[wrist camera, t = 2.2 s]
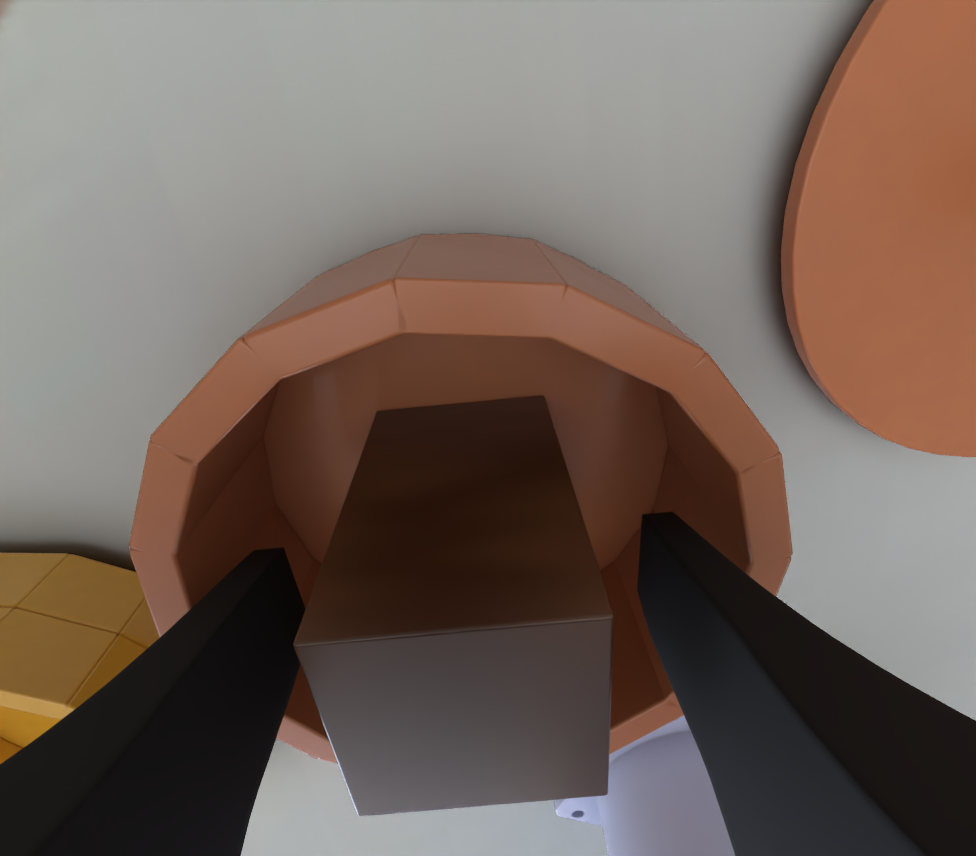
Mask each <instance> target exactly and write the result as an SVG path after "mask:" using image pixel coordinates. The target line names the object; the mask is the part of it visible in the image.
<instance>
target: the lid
mask: <svg viewBox="0 0 976 856" xmlns="http://www.w3.org/2000/svg"><path fill="white" fill-rule="evenodd" d="M781 274H782V292H783V298H784V304H785V310H786V316H787V322H788V325H789V328H790V331H791V334H792V337H793V340H794V343H795V346H796V349H797V352H798V354H799V356H800V358H801V360H802V361H803V363H804V365H805V367H806V369H807V371H808V373H809V374H810V376H811V378H812V379H813V381H814V382H815V383H816V384H817V386H818V387H819V388H820V389H821V391H822V392H823V393H824V394H825V396H826V397H827V398H828V399H829V400H830V401H831V402H832V403H833V404H834V405H835V406H837V407H838V408H839V409H840V410H841V411H842V412H844V413H845V414H846V415H847V416H848V417H849V418H851V419H852V420H854V421H855V422H857V423H858V424H860V425H861V426H863V427H865V428H866V429H868V430H870V431H872V432H873V433H875V434H877V435H878V436H880V437H882V438H884V439H886V440H889V441H892V442H894V443H897V444H899V445H902V446H904V447H907V448H911V449H915V450H920V451H924V452H929V453H933V454H938V455H950V456H962V457H976V0H874V1H873V2H872V3H871V5H870V6H869V8H868V9H867V11H866V12H865V14H864V15H863V17H862V19H861V21H860V22H859V24H858V26H857V28H856V29H855V31H854V33H853V35H852V36H851V38H850V40H849V42H848V43H847V45H846V47H845V49H844V50H843V52H842V54H841V56H840V57H839V59H838V61H837V63H836V64H835V66H834V69H833V71H832V73H831V75H830V77H829V80H828V82H827V84H826V86H825V88H824V91H823V93H822V95H821V97H820V99H819V102H818V104H817V106H816V108H815V110H814V113H813V115H812V117H811V120H810V123H809V126H808V129H807V132H806V135H805V138H804V141H803V144H802V147H801V150H800V153H799V156H798V159H797V161H796V164H795V169H794V173H793V178H792V182H791V187H790V191H789V195H788V200H787V204H786V209H785V217H784V227H783V236H782V246H781Z"/></svg>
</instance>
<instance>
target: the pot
mask: <svg viewBox="0 0 976 856" xmlns="http://www.w3.org/2000/svg"><path fill="white" fill-rule="evenodd" d="M533 396H544V397H545V399H546V403H547V406H548V409H549V412H550V415H551V418H552V422H553V425H554V428H555V431H556V434H557V437H558V440H559V444H560V447H561V450H562V453H563V456H564V459H565V462H566V466H567V469H568V472H569V475H570V478H571V481H572V485H573V488H574V491H575V494H576V497H577V500H578V503H579V507H580V510H581V513H582V516H583V519H584V522H585V525H586V529H587V532H588V535H589V538H590V541H591V544H592V548H593V551H594V554H595V557H596V560H597V563H598V566H599V570H600V573H601V576H602V579H603V582H604V585H605V588H606V592H607V595H608V598H609V601H610V604H611V607H612V611H613V614H614V637H613V665H612V692H611V720H610V748H609V755H610V754H612V753H613V752H615V751H617V750H619V749H621V748H623V747H625V746H627V745H629V744H630V743H632V742H634V741H636V740H638V739H640V738H642V737H644V736H646V735H647V734H649V733H651V732H653V731H655V730H657V729H659V728H661V727H662V726H664V725H666V724H668V723H670V722H672V721H674V720H676V719H678V718H679V717H681V716H683V715H684V714H683V712H682V709H681V707H680V705H679V702H678V700H677V698H676V695H675V693H674V691H673V688H672V686H671V684H670V681H669V679H668V677H667V674H666V672H665V670H664V667H663V665H662V663H661V660H660V658H659V655H658V653H657V651H656V648H655V646H654V644H653V641H652V639H651V636H650V632H649V629H648V626H647V623H646V619H645V616H644V613H643V609H642V605H641V602H640V598H639V595H638V591H637V584H638V568H639V553H640V537H641V522H642V514H651V513H662V512H674V513H675V514H676V515H677V516H679V517H680V518H681V519H682V520H683V521H684V522H686V523H687V524H688V525H689V526H690V527H691V528H693V529H694V530H695V531H696V532H697V533H698V534H699V535H701V536H702V537H703V538H704V539H705V540H706V541H708V542H709V543H710V544H711V545H712V546H713V547H715V548H716V549H717V550H718V551H719V552H721V553H722V554H723V555H724V556H725V557H726V558H728V559H729V560H730V561H731V562H732V563H734V564H735V565H736V566H737V567H739V568H740V569H741V570H742V571H744V572H745V573H746V574H747V575H749V576H750V577H751V578H752V579H754V580H755V581H756V582H757V583H759V584H760V585H761V586H762V587H764V588H765V589H766V590H768V591H769V592H770V593H772V594H773V595H774V596H776V595H777V593H778V590H779V588H780V585H781V583H782V581H783V578H784V576H785V573H786V571H787V568H788V566H789V563H790V561H791V555H792V553H793V552H792V543H791V534H790V525H789V516H788V507H787V498H786V489H785V480H784V471H783V462H782V454H781V453H780V452H779V449H778V446H777V444H776V443H775V442H774V440H773V439H772V438H771V436H770V435H769V434H768V432H767V431H766V430H765V428H764V427H763V426H762V425H761V423H760V422H759V421H758V419H757V418H756V417H755V415H754V414H753V413H752V411H751V410H750V409H749V407H748V406H747V405H746V403H745V402H744V401H743V399H742V398H741V397H740V395H739V394H738V393H737V391H736V390H735V389H734V387H733V386H732V385H731V383H730V382H729V381H728V379H727V378H726V377H725V375H724V374H723V373H722V371H721V370H720V369H719V367H718V366H717V365H716V363H715V362H714V361H713V359H712V358H711V357H710V355H709V354H708V353H707V352H705V351H704V350H703V349H702V348H701V347H700V346H699V345H697V344H696V343H695V342H694V341H693V340H691V339H690V338H689V337H688V336H687V335H685V334H684V333H683V332H682V331H680V330H679V329H678V328H677V327H676V326H674V325H673V324H672V323H671V322H669V321H668V320H667V319H666V318H665V317H663V316H662V315H661V314H660V313H659V312H657V311H656V310H655V309H654V308H652V307H651V306H650V305H649V304H648V303H646V302H645V301H644V300H643V299H641V298H640V297H639V296H638V295H637V294H635V293H634V292H633V291H632V290H631V289H629V288H628V287H627V286H626V285H624V284H622V283H620V282H618V281H616V280H614V279H612V278H610V277H608V276H606V275H604V274H602V273H600V272H598V271H596V270H595V269H593V268H591V267H590V266H588V265H586V264H584V263H583V262H581V261H579V260H578V259H576V258H573V257H571V256H569V255H566V254H564V253H561V252H559V251H556V250H554V249H552V248H550V247H548V246H546V245H544V244H542V243H540V242H538V241H536V240H532V239H530V238H513V237H505V236H496V235H487V234H478V233H468V234H439V235H433V234H421V235H420V236H414V237H412V238H409V239H407V240H404V241H401V242H398V243H395V244H392V245H389V246H386V247H382V248H379V249H376V250H373V251H371V252H369V253H367V254H365V255H362V256H360V257H358V258H356V259H354V260H352V261H350V262H348V263H346V264H344V265H341V266H339V267H336V268H334V269H331V270H329V271H326V272H324V273H322V274H320V275H319V276H317V277H315V278H314V279H313V280H311V281H310V282H309V283H308V284H306V285H305V286H304V287H303V288H301V289H300V290H299V291H298V292H296V293H295V294H294V295H293V296H291V297H290V298H289V299H288V300H286V301H285V302H284V303H282V304H281V305H280V306H279V307H277V308H276V309H275V310H274V311H272V312H271V313H270V314H269V315H267V316H266V317H265V318H264V319H262V320H261V321H260V322H259V323H257V324H256V325H255V326H253V327H252V328H251V329H250V330H248V331H247V332H246V333H245V334H243V335H242V336H241V337H240V338H238V339H237V340H236V341H235V343H234V344H233V345H232V346H231V347H230V348H229V349H228V350H227V351H226V353H225V354H224V355H223V356H222V357H221V358H220V359H219V360H218V361H217V362H216V364H215V365H214V366H213V367H212V368H211V369H210V370H209V371H208V372H207V374H206V375H205V376H204V377H203V378H202V379H201V380H200V381H199V382H198V384H197V385H196V386H195V387H194V388H193V389H192V390H191V391H190V392H189V393H188V395H187V396H186V397H185V398H184V399H183V400H182V401H181V402H180V403H179V405H178V406H177V407H176V408H175V409H174V410H173V411H172V412H171V413H170V415H169V416H168V417H167V418H166V419H165V420H164V421H163V422H162V423H161V424H160V426H159V427H158V428H157V429H156V430H155V431H154V432H153V433H152V434H151V437H150V439H151V440H150V441H149V444H148V450H147V455H146V460H145V465H144V470H143V475H142V480H141V485H140V490H139V496H138V501H137V506H136V511H135V516H134V521H133V526H132V531H131V537H130V542H129V546H130V549H129V553H130V556H131V559H132V562H133V565H134V567H135V570H136V573H137V576H138V579H139V581H140V584H141V587H142V590H143V593H144V596H145V598H146V601H147V604H148V607H149V610H150V612H151V615H152V618H153V621H154V624H155V626H156V629H157V632H158V635H159V638H160V637H161V636H162V635H163V634H164V633H166V632H167V631H168V630H169V629H170V628H171V627H172V626H173V625H174V624H175V623H176V622H177V621H178V620H179V619H181V618H182V617H183V616H184V615H185V614H186V613H187V612H188V611H189V610H190V609H191V608H192V607H193V606H194V605H195V604H197V603H198V602H199V601H200V600H201V599H202V598H203V597H204V596H205V595H206V594H207V593H208V592H209V591H210V590H211V589H212V588H213V587H215V586H216V585H217V584H218V583H219V582H220V581H221V580H222V579H223V578H224V577H225V576H226V575H227V574H228V573H229V572H230V571H231V570H232V569H233V568H235V567H236V566H237V565H238V564H239V563H240V562H241V561H242V560H243V559H244V558H245V557H247V556H248V555H249V554H250V553H251V552H252V551H254V550H261V549H271V548H282V547H284V549H285V552H286V555H287V558H288V561H289V564H290V566H291V569H292V572H293V575H294V578H295V581H296V583H297V586H298V589H299V592H300V595H301V598H302V601H303V603H304V606H305V609H306V607H307V604H308V601H309V598H310V596H311V593H312V590H313V587H314V584H315V582H316V579H317V576H318V573H319V570H320V568H321V565H322V562H323V559H324V557H325V554H326V551H327V548H328V545H329V543H330V540H331V537H332V534H333V532H334V529H335V526H336V523H337V520H338V518H339V515H340V512H341V509H342V506H343V504H344V501H345V498H346V495H347V493H348V490H349V487H350V484H351V481H352V479H353V476H354V473H355V470H356V467H357V465H358V462H359V459H360V456H361V454H362V451H363V448H364V445H365V442H366V440H367V437H368V434H369V431H370V428H371V426H372V423H373V420H374V417H375V415H376V412H377V411H384V410H394V409H405V408H416V407H426V406H437V405H448V404H458V403H469V402H480V401H490V400H501V399H512V398H522V397H533ZM276 738H277V739H278V740H280V741H282V742H284V743H286V744H288V745H290V746H292V747H294V748H296V749H298V750H300V751H302V752H304V753H306V754H307V755H309V756H311V757H313V758H315V759H318V758H320V759H321V760H324V761H328V762H333V763H337V764H338V762H337V760H336V757H335V754H334V752H333V749H332V747H331V744H330V741H329V739H328V736H327V733H326V731H325V728H324V726H323V723H322V720H321V718H320V715H319V713H318V710H317V707H316V705H315V702H314V699H313V697H312V694H311V692H310V689H309V686H308V684H307V681H306V678H305V676H304V673H303V671H302V668H301V665H300V668H299V671H298V674H297V678H296V681H295V684H294V687H293V690H292V693H291V696H290V699H289V702H288V705H287V708H286V711H285V714H284V716H283V719H282V722H281V725H280V728H279V731H278V734H277V737H276Z"/></svg>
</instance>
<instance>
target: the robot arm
mask: <svg viewBox="0 0 976 856" xmlns="http://www.w3.org/2000/svg"><path fill="white" fill-rule="evenodd" d="M637 591H638V595H639V598H640V602H641V605H642V609H643V613H644V616H645V619H646V623H647V626H648V629H649V632H650V636H651V639H652V641H653V644H654V646H655V648H656V651H657V653H658V655H659V658H660V660H661V663H662V665H663V667H664V670H665V672H666V674H667V677H668V679H669V681H670V684H671V686H672V688H673V691H674V693H675V695H676V698H677V700H678V702H679V705H680V707H681V709H682V712H683V714H684V715H683V716H681V717H679V718H678V719H676V720H674V721H672V722H670V723H668V724H666V725H664V726H662V727H661V728H659V729H657V730H655V731H653V732H651V733H649V734H647V735H646V736H644V737H642V738H640V739H638V740H636V741H634V742H632V743H630V744H629V745H627V746H625V747H623V748H621V749H619V750H617V751H615V752H613V753H612V754H610V755H609V776H608V794H607V795H605V796H593V797H581V798H570V799H558V800H555V802H554V804H555V811H556V814H557V815H558V816H560V817H563V818H568V819H573V820H577V821H582V822H586V823H591V824H595V825H600V826H602V827H603V832H604V837H605V842H606V847H607V852H608V856H976V721H975V720H973V719H971V718H969V717H967V716H965V715H964V714H962V713H960V712H958V711H956V710H954V709H953V708H951V707H949V706H947V705H945V704H944V703H942V702H940V701H938V700H936V699H935V698H933V697H931V696H929V695H928V694H926V693H924V692H922V691H920V690H919V689H917V688H915V687H913V686H911V685H910V684H908V683H906V682H904V681H903V680H901V679H899V678H898V677H896V676H894V675H893V674H891V673H889V672H888V671H886V670H884V669H882V668H881V667H879V666H877V665H876V664H874V663H873V662H871V661H870V660H868V659H866V658H865V657H863V656H862V655H860V654H859V653H857V652H855V651H854V650H852V649H851V648H849V647H848V646H846V645H844V644H843V643H841V642H840V641H838V640H837V639H835V638H833V637H832V636H830V635H829V634H827V633H826V632H825V631H823V630H822V629H820V628H819V627H817V626H816V625H814V624H813V623H811V622H810V621H809V620H807V619H806V618H804V617H803V616H802V615H800V614H799V613H797V612H796V611H795V610H793V609H792V608H791V607H789V606H788V605H786V604H785V603H784V602H782V601H781V600H780V599H778V598H777V597H776V596H774V595H773V594H772V593H770V592H769V591H768V590H766V589H765V588H764V587H762V586H761V585H760V584H759V583H757V582H756V581H755V580H754V579H752V578H751V577H750V576H749V575H747V574H746V573H745V572H744V571H742V570H741V569H740V568H739V567H737V566H736V565H735V564H734V563H732V562H731V561H730V560H729V559H728V558H726V557H725V556H724V555H723V554H722V553H721V552H719V551H718V550H717V549H716V548H715V547H713V546H712V545H711V544H710V543H709V542H708V541H706V540H705V539H704V538H703V537H702V536H701V535H699V534H698V533H697V532H696V531H695V530H694V529H693V528H691V527H690V526H689V525H688V524H687V523H686V522H684V521H683V520H682V519H681V518H680V517H679V516H677V515H676V514H675V513H674V512H662V513H651V514H642V522H641V537H640V553H639V568H638V584H637ZM304 612H305V606H304V603H303V601H302V598H301V595H300V592H299V589H298V586H297V583H296V581H295V578H294V575H293V572H292V569H291V566H290V564H289V561H288V558H287V555H286V552H285V549H284V547H282V548H271V549H261V550H254V551H252V552H251V553H250V554H249V555H248V556H247V557H245V558H244V559H243V560H242V561H241V562H240V563H239V564H238V565H237V566H236V567H235V568H233V569H232V570H231V571H230V572H229V573H228V574H227V575H226V576H225V577H224V578H223V579H222V580H221V581H220V582H219V583H218V584H217V585H216V586H215V587H213V588H212V589H211V590H210V591H209V592H208V593H207V594H206V595H205V596H204V597H203V598H202V599H201V600H200V601H199V602H198V603H197V604H195V605H194V606H193V607H192V608H191V609H190V610H189V611H188V612H187V613H186V614H185V615H184V616H183V617H182V618H181V619H179V620H178V621H177V622H176V623H175V624H174V625H173V626H172V627H171V628H170V629H169V630H168V631H167V632H166V633H164V634H163V635H162V636H161V637H160V638H159V639H158V640H156V641H155V642H154V643H153V644H152V645H151V646H150V647H148V648H147V649H146V650H145V651H144V652H143V653H142V654H140V655H139V656H138V657H137V658H136V659H135V660H134V661H132V662H131V663H130V664H129V665H128V666H127V667H126V668H124V669H123V670H122V671H121V672H120V673H119V674H118V675H116V676H115V677H114V678H113V679H112V680H111V681H109V682H108V683H107V684H106V685H104V686H103V687H102V688H101V689H100V690H98V691H97V692H96V693H95V694H93V695H92V696H91V697H90V698H88V699H87V700H86V701H85V702H83V703H82V704H81V705H80V706H78V707H77V708H76V709H75V710H73V711H72V712H71V713H69V714H68V715H67V716H65V717H64V718H63V719H62V720H60V721H59V722H58V723H56V724H55V725H54V726H52V727H51V728H50V729H48V730H47V731H46V732H45V733H43V734H42V735H41V736H39V737H38V738H36V739H35V740H34V741H32V742H31V743H30V744H28V745H27V746H25V747H24V748H23V749H21V750H20V751H18V752H17V753H15V754H14V755H13V756H11V757H10V758H8V759H7V760H5V761H4V762H3V763H1V764H0V856H240V855H241V851H242V847H243V843H244V839H245V835H246V831H247V827H248V823H249V819H250V816H251V812H252V809H253V806H254V802H255V799H256V796H257V792H258V789H259V786H260V783H261V780H262V778H263V775H264V772H265V769H266V766H267V763H268V760H269V757H270V754H271V751H272V748H273V745H274V743H275V740H276V737H277V734H278V731H279V728H280V725H281V722H282V719H283V716H284V714H285V711H286V708H287V705H288V702H289V699H290V696H291V693H292V690H293V687H294V684H295V681H296V678H297V674H298V671H299V668H300V663H299V660H298V657H297V655H296V652H295V650H294V647H293V643H294V640H295V637H296V635H297V632H298V629H299V626H300V623H301V621H302V618H303V615H304Z"/></svg>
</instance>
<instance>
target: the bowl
mask: <svg viewBox="0 0 976 856" xmlns="http://www.w3.org/2000/svg"><path fill="white" fill-rule="evenodd" d="M158 639H159V635H158V632H157V629H156V626H155V624H154V621H153V618H152V615H151V612H150V610H149V607H148V604H147V601H146V598H145V596H144V593H143V590H142V587H141V584H140V581H139V579H138V576H137V573H136V572H134V571H131V570H127V569H124V568H120V567H117V566H113V565H110V564H106V563H103V562H99V561H95V560H92V559H88V558H85V557H81V556H78V555H74V554H70V555H69V554H67V553H4V552H0V764H1V763H3V762H4V761H5V760H7V759H8V758H10V757H11V756H13V755H14V754H15V753H17V752H18V751H20V750H21V749H23V748H24V747H25V746H27V745H28V744H30V743H31V742H32V741H34V740H35V739H36V738H38V737H39V736H41V735H42V734H43V733H45V732H46V731H47V730H48V729H50V728H51V727H52V726H54V725H55V724H56V723H58V722H59V721H60V720H62V719H63V718H64V717H65V716H67V715H68V714H69V713H71V712H72V711H73V710H75V709H76V708H77V707H78V706H80V705H81V704H82V703H83V702H85V701H86V700H87V699H88V698H90V697H91V696H92V695H93V694H95V693H96V692H97V691H98V690H100V689H101V688H102V687H103V686H104V685H106V684H107V683H108V682H109V681H111V680H112V679H113V678H114V677H115V676H116V675H118V674H119V673H120V672H121V671H122V670H123V669H124V668H126V667H127V666H128V665H129V664H130V663H131V662H132V661H134V660H135V659H136V658H137V657H138V656H139V655H140V654H142V653H143V652H144V651H145V650H146V649H147V648H148V647H150V646H151V645H152V644H153V643H154V642H155V641H156V640H158Z"/></svg>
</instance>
